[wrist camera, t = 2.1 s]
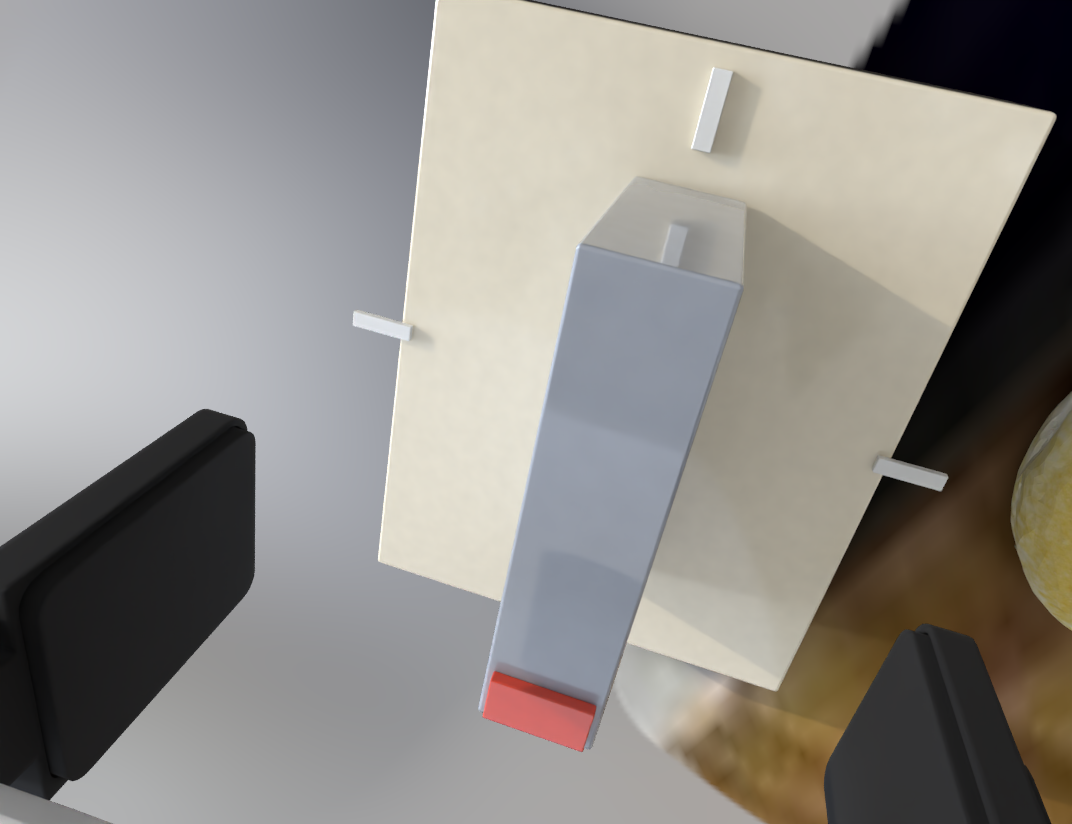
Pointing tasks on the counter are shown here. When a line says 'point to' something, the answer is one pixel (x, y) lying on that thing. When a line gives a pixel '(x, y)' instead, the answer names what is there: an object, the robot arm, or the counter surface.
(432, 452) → the cream flat tabbed slab
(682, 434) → the grey rectangular block
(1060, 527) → the bread roll
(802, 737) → the counter surface
